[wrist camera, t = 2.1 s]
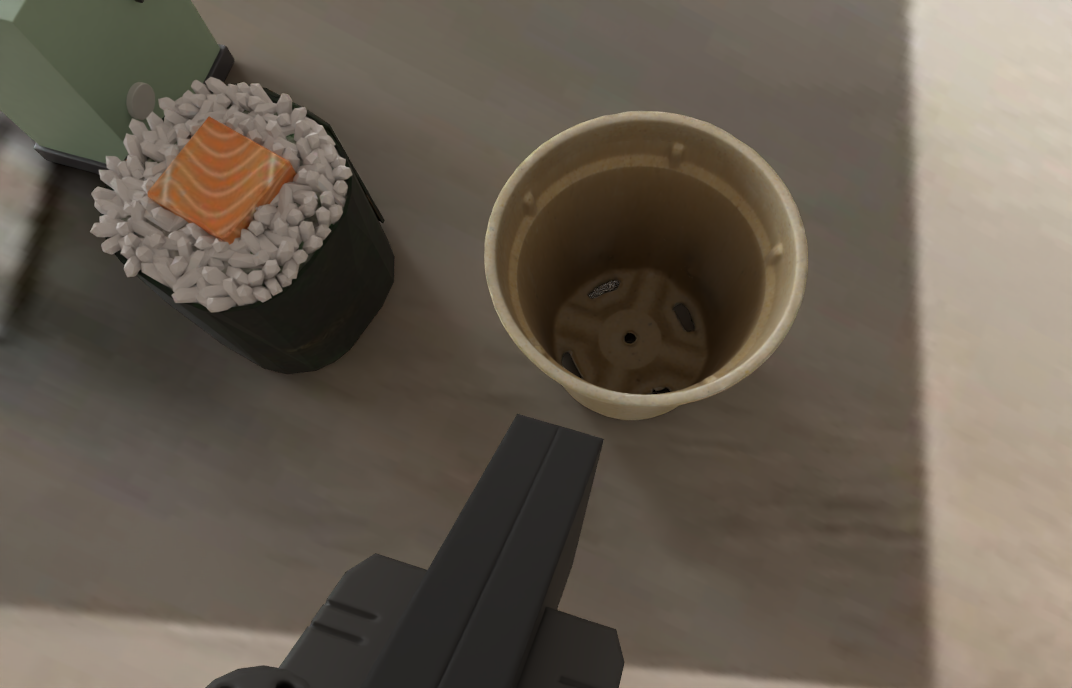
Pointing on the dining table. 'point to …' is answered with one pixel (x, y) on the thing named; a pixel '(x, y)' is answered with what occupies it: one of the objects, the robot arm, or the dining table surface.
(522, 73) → the dining table surface
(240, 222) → the sushi
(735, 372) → the flower pot
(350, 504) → the dining table surface
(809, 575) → the dining table surface
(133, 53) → the toaster
